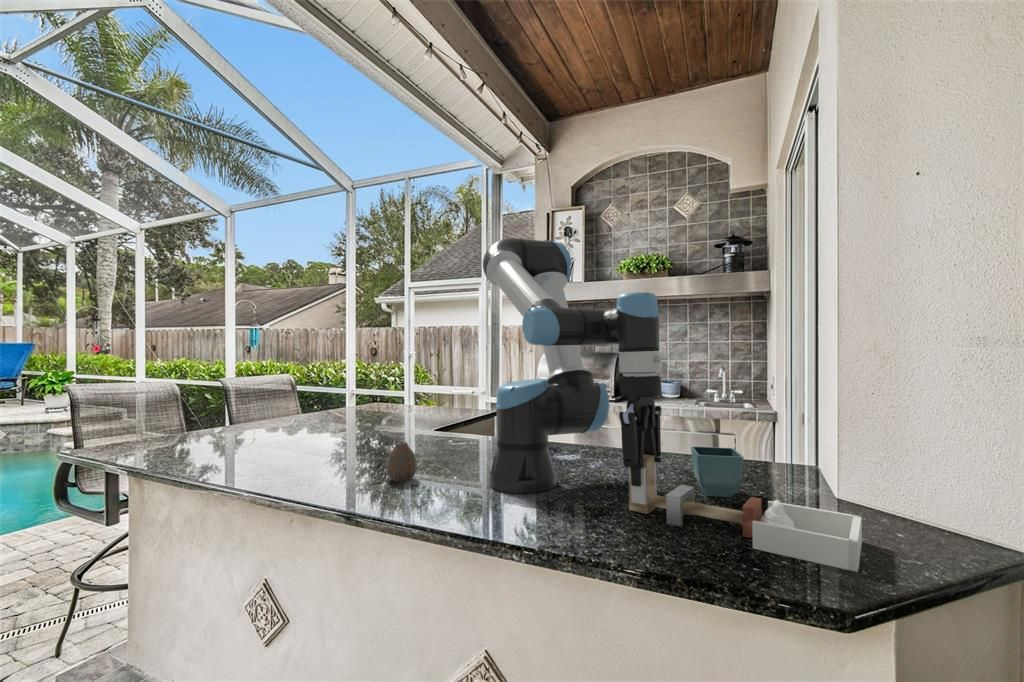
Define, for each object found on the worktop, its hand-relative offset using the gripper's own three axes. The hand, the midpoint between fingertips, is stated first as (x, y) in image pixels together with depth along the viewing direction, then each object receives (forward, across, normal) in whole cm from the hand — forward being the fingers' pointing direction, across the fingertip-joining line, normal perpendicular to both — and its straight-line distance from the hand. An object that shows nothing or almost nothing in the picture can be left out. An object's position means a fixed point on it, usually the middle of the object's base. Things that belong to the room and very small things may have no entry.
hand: (644, 499), depth 90 cm
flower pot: (+3, +19, -7) cm, 21 cm away
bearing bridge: (+2, 0, -7) cm, 7 cm away
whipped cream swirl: (+3, +1, -22) cm, 22 cm away
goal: (+3, +1, -26) cm, 26 cm away
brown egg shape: (+1, -14, +54) cm, 56 cm away
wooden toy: (+2, 0, -8) cm, 9 cm away
